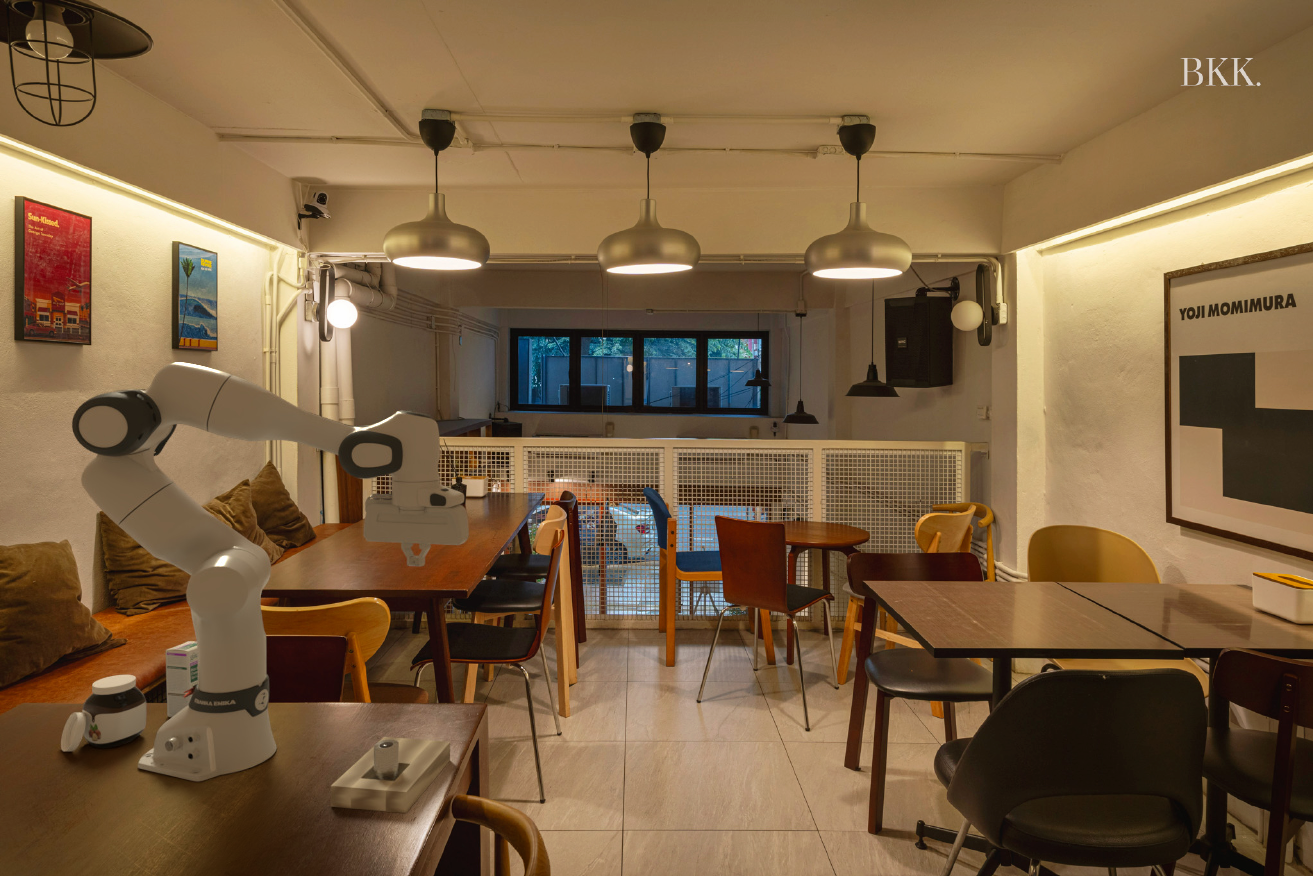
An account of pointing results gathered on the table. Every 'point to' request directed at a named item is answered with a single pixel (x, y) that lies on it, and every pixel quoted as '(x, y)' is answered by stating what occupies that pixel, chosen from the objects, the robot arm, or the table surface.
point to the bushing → (386, 760)
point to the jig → (415, 775)
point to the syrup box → (180, 675)
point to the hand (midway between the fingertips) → (415, 565)
